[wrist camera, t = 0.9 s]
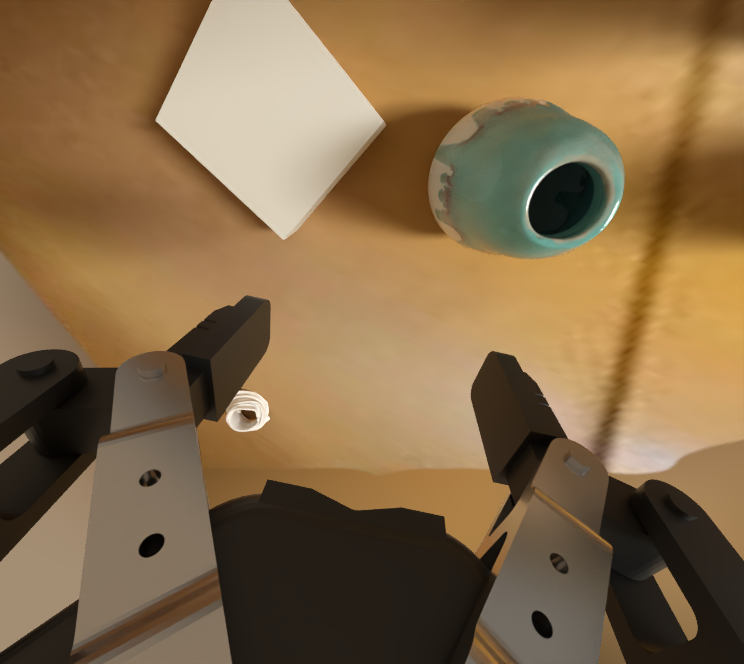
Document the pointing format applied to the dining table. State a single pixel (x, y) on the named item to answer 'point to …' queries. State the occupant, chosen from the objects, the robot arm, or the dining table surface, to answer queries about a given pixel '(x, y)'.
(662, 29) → the dining table surface
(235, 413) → the whipped cream
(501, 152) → the vase
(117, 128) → the dining table surface
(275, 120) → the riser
